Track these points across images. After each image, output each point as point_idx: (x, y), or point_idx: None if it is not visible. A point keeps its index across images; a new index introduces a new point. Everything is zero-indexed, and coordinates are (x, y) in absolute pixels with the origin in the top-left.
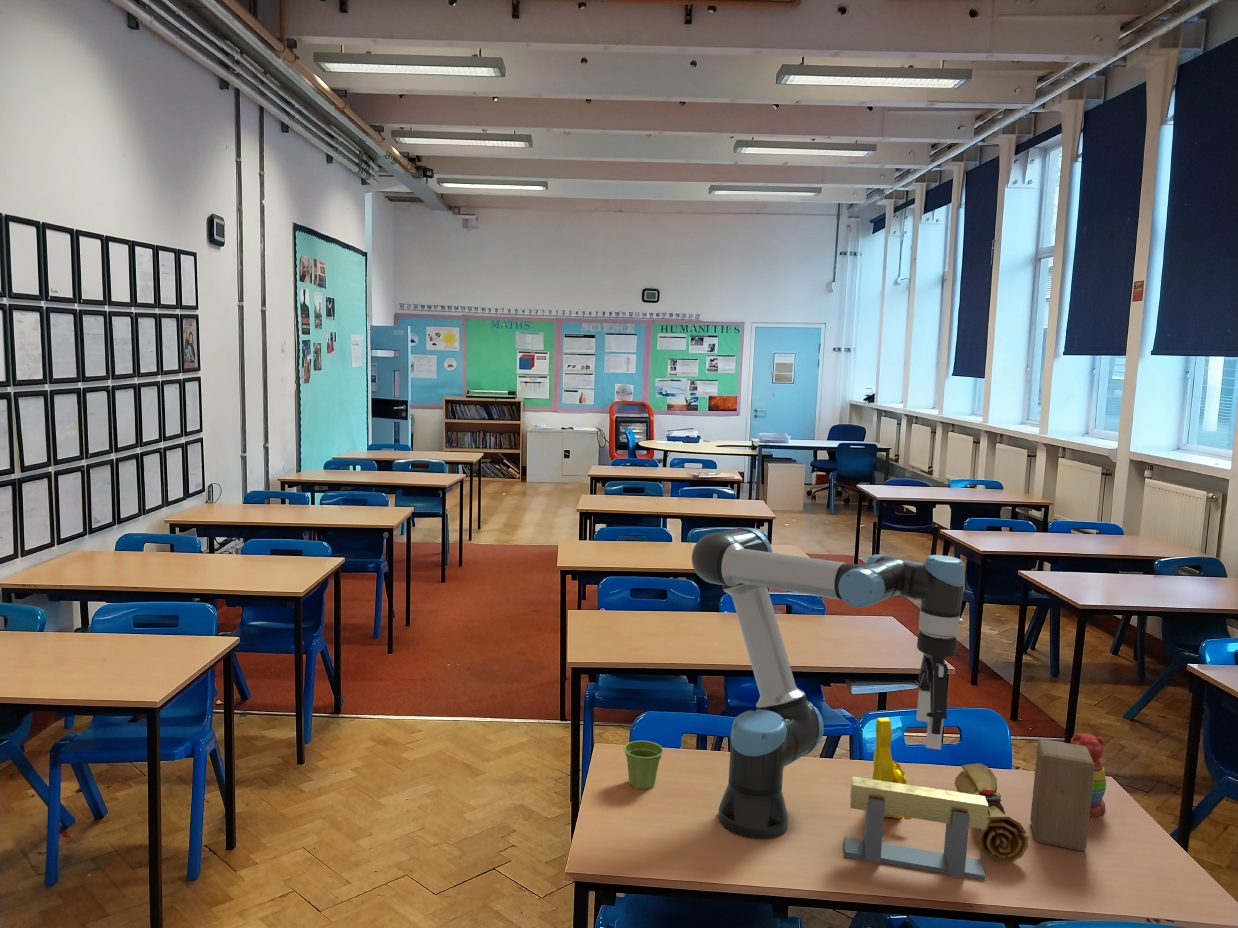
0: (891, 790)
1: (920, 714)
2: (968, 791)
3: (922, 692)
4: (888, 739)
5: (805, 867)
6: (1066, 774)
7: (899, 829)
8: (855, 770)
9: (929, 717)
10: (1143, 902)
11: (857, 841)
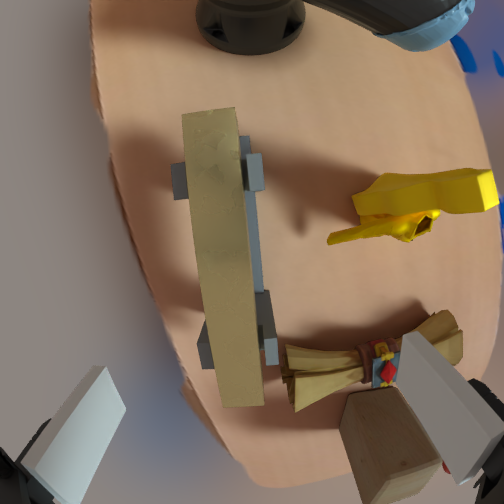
0: (193, 213)
1: (415, 364)
2: (421, 332)
3: (478, 446)
4: (444, 204)
5: (150, 98)
6: (367, 480)
7: (327, 224)
8: (470, 162)
9: (25, 457)
10: (256, 456)
11: (243, 157)
